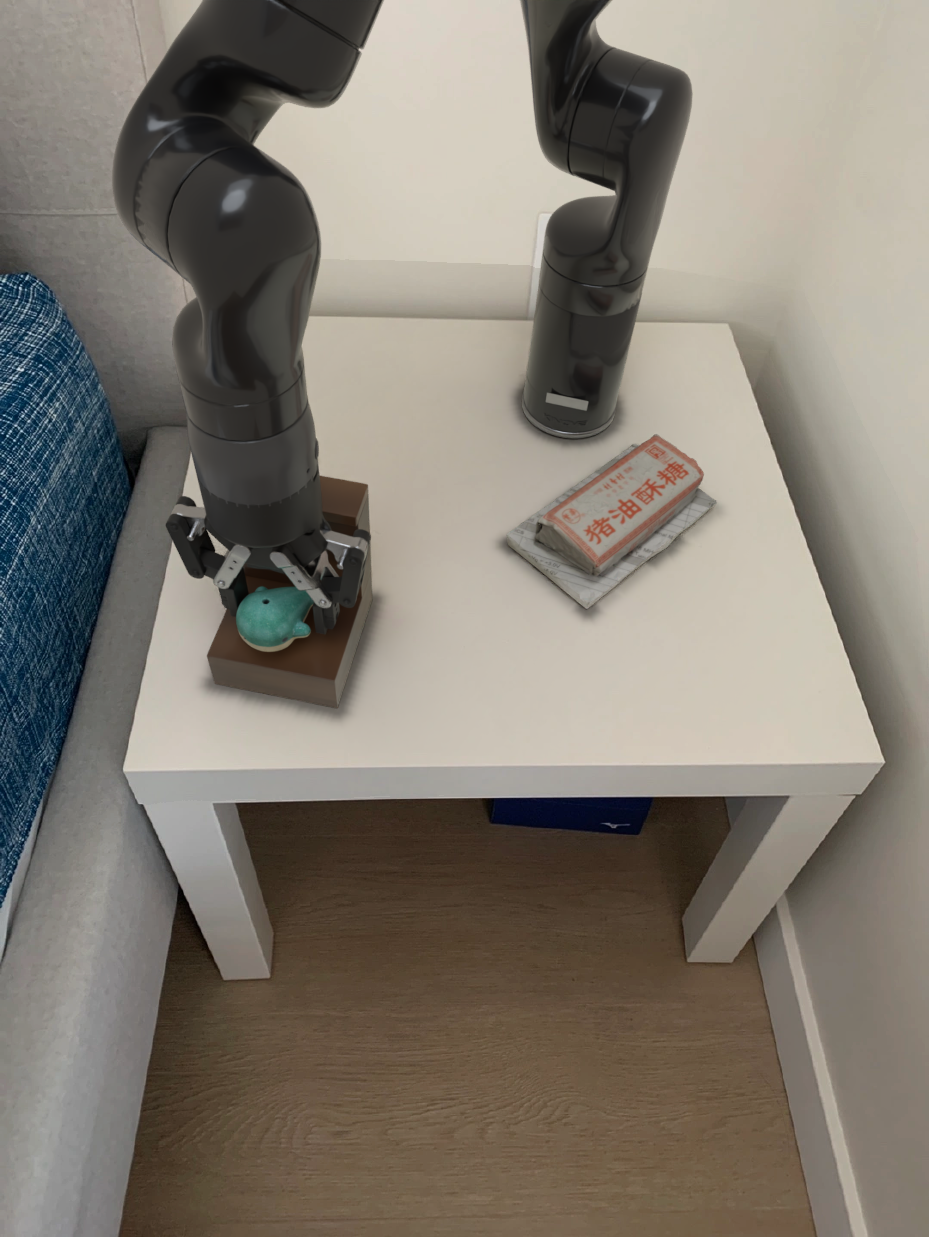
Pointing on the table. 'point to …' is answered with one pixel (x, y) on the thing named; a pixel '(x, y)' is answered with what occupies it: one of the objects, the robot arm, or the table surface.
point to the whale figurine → (273, 617)
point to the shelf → (317, 659)
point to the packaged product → (614, 519)
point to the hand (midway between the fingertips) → (282, 615)
